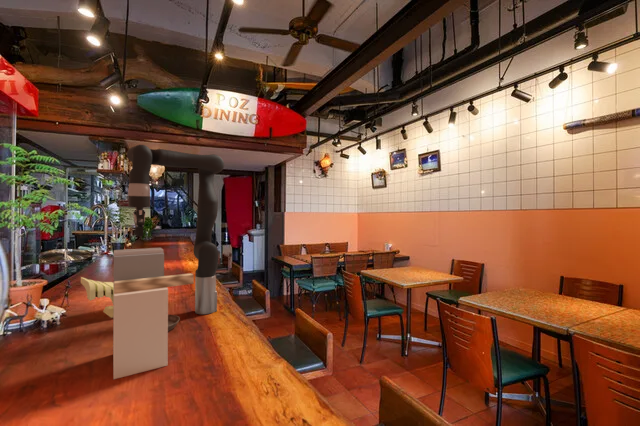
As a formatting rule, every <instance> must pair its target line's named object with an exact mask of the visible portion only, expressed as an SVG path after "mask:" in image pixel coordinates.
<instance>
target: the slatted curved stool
mask: <svg viewBox="0 0 640 426" xmlns="http://www.w3.org/2000/svg"><path fill="white" fill-rule="evenodd" d="M80 284H81V285H82V286H83V287H84V289H85V290H86V291H85V292H86V298H87V300H88V301H92V300H93V301H94V300H95V299H96V298H98V299H99V298H104V297H105V298H109V299H110V300H111V302H112V305H109V306H105V308H103V311H102V312H103V313H104V314H106V315H107V316H108V317H109V318H110V319H113V309H114V281H101V280H100V281H99V280H93V279H90V278H89V279H88V278H86V277H82V276H80Z"/></svg>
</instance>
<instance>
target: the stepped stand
mask: <svg viewBox="0 0 640 426" xmlns="http://www.w3.org/2000/svg"><path fill="white" fill-rule="evenodd" d="M161 276H165V253H164V249H163V248H162V247H149V248H135V249H134V248H132V249H131V248H130V249H114V250H113V282H114V281H122V280H132V279H141V278H151V277H161ZM168 315H169V287H163V288H155V289H147V290H139V291H131V292H123V293H115V294H114V309H113V318H112V319H113V320H112V321H113V323H112V324H113V331H112V332H113V336H112V337H113V338H112V339H113V340H112V341H113V342H112V345H113V346H112V348H113V350H112V351H113V352H112V354H113V356H112V357H113V360H112V361H113V365H112V368H113V380H116V379H117V380H118V379H120V378H123V377H124V378H125V377H129V376H132V375H136V374H140V373H143V372H144V373H145V372H147V371H151V370H155V369H160V368H163V367H166V366H169V365H168V364H169V363H168V361H169V360H168V359H169V358H168V357H169V356H168V355H169V354H168V353H169V351H168V350H169V349H168V348H169V347H168V346H169V342H168V341H169V331H168Z"/></svg>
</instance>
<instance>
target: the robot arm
mask: <svg viewBox="0 0 640 426" xmlns="http://www.w3.org/2000/svg"><path fill="white" fill-rule="evenodd" d="M126 157H127V159H128V160H129V161H130V162H131V163H132V168H131V169H130V170H129V175H128V178H129V179H128V192H127V195H128V196H127V198H128V199H127V200H128V201H127V204H128V205H127V206H128V207H129V208H135V209H134V211H133V213H132V214H133V215H132V216H133V223H134V226H135V227H134V232H135V233H134V234H135V236H136V237H138V238H139V237H144V227H145V223H146V222H145V221H146V211H145V210H144V208H150V207H151V187H150V172H151V168H152V166H161V167H167V168H187V169H188V168H191V169H198V194H197V195H198V197H197V206H196V207H197V209H196V214H197V215H196V233H195V234H196V235H195V240H194V244H193V245H194V246H193V255H194V257H195V258H196V260H197V268H196V269H195V276H194V277H195V279H194V281H195V283H194V285H195V287H194V289H195V290H194V291H195V292H194V293H195V295H194V296H195V297H194V298H195V299H194V300H195V301H194V312H195V314H198V315H210V314H212V313H215V312H218V291H217V271H218V266H219V250H218V248H217V247H218V246H217V245H216V244H214V243H213V242H212V235H213V234H212V233H213V229H214V226H215V223H216V221H217V217H218V209H219V201H218V197H217V193H216V190H215V186H214V184H215V183H214V179H215V178H214V177H215V174H218V173H220V172H222V171H223V170H224V168H225V161H224V159H223V158H222V157H221V156H220V155H218V154H214V153H212V154H211V153H210V154H195V153H187V152H182V151H176V150H171V149H170V150H169V149H163V148H156V149H152V148H150V147H148V146H147V145H146V144H137V145H134V146H132V147H130V148H128V150H127V151H126Z"/></svg>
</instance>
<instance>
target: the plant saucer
mask: <svg viewBox="0 0 640 426" xmlns="http://www.w3.org/2000/svg"><path fill="white" fill-rule="evenodd" d="M180 318H181V317H180V316H178V315H176V314H168V332H169V331H171V330H173V329H174V328H175V327H176V326H177V325H178V323H179V321H180V320H181V319H180Z"/></svg>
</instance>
